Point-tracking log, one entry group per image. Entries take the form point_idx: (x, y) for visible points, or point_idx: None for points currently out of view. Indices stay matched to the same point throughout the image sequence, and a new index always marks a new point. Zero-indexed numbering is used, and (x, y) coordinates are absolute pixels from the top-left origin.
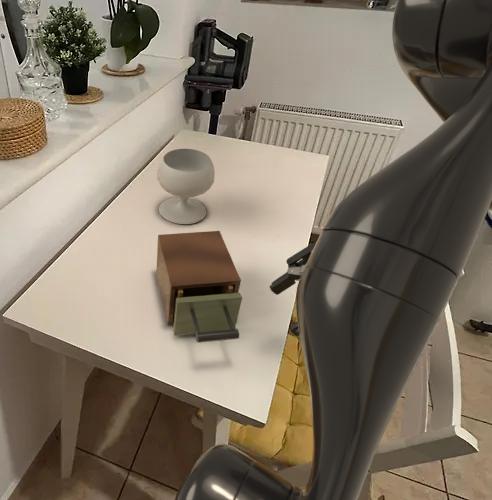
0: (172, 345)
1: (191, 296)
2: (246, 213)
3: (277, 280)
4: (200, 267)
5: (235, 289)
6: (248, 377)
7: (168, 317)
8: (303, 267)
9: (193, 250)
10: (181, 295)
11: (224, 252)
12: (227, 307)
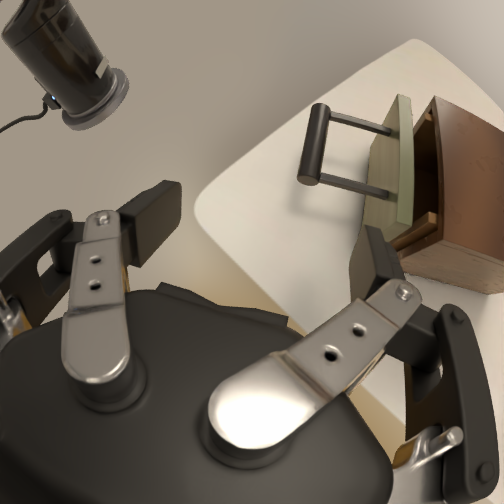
0: (355, 144)
1: None
2: None
3: (390, 256)
4: (483, 172)
5: (428, 237)
6: (256, 227)
7: None
8: (377, 322)
9: None
10: (421, 121)
11: None
12: (386, 201)
